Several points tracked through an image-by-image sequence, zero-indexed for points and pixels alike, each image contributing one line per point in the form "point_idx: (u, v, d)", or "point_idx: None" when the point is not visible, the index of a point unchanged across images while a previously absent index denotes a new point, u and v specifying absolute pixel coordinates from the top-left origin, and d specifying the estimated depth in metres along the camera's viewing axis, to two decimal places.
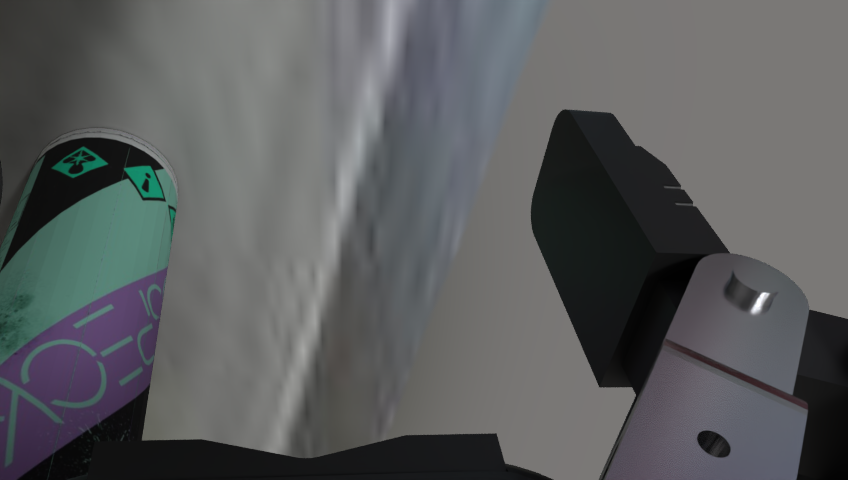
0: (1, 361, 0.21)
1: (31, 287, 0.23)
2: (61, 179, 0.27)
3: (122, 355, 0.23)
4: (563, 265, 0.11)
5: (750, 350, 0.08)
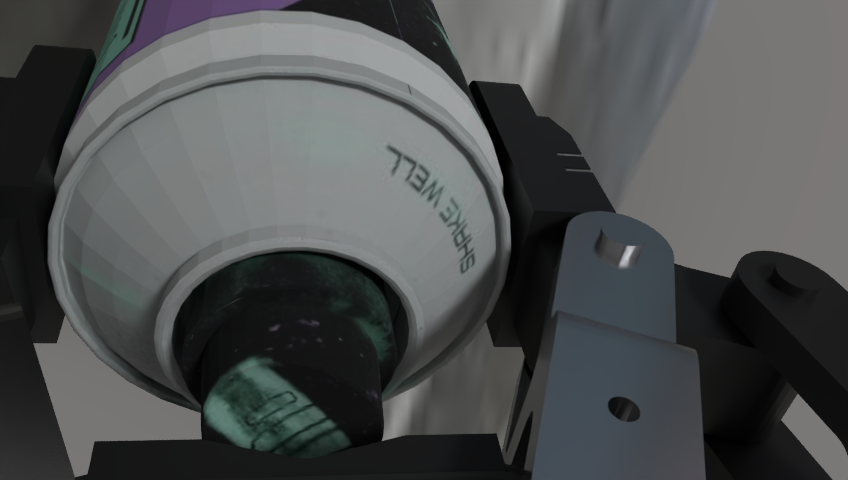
0: None
1: None
2: None
3: None
4: None
5: (632, 304, 0.08)
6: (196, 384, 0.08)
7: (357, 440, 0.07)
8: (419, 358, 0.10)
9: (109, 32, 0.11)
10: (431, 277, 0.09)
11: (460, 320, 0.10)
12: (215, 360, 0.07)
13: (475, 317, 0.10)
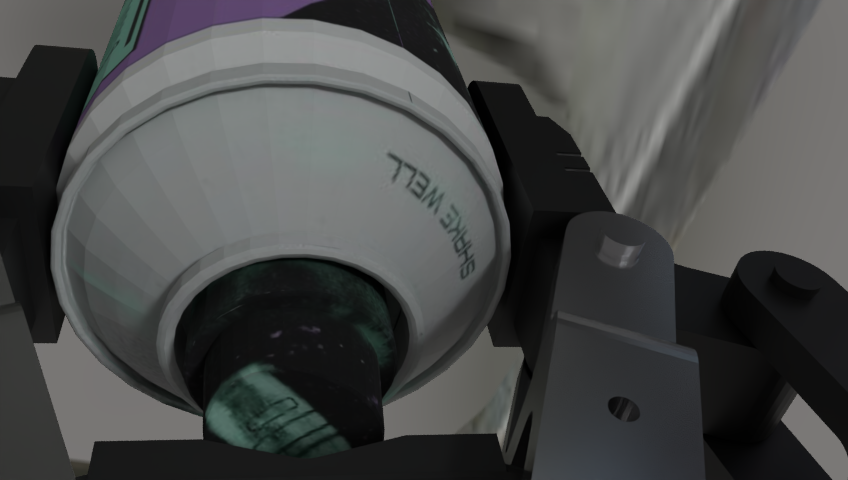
0: None
1: None
2: None
3: None
4: None
5: (631, 305, 0.08)
6: (198, 390, 0.08)
7: (357, 445, 0.08)
8: (419, 363, 0.10)
9: (111, 38, 0.11)
10: (432, 283, 0.09)
11: (460, 325, 0.10)
12: (217, 366, 0.07)
13: (475, 322, 0.10)
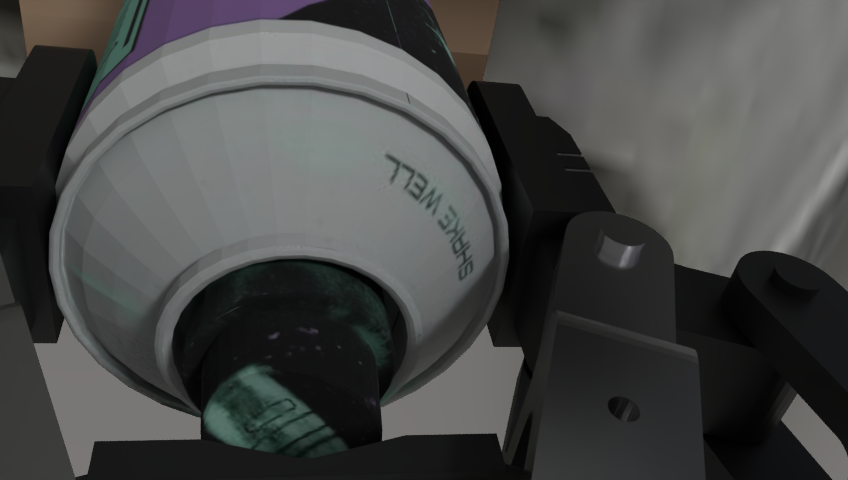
0: None
1: None
2: None
3: None
4: None
5: (631, 304, 0.08)
6: (196, 391, 0.08)
7: (355, 447, 0.08)
8: (418, 364, 0.10)
9: (110, 39, 0.11)
10: (430, 284, 0.09)
11: (459, 326, 0.10)
12: (215, 367, 0.07)
13: (474, 323, 0.10)
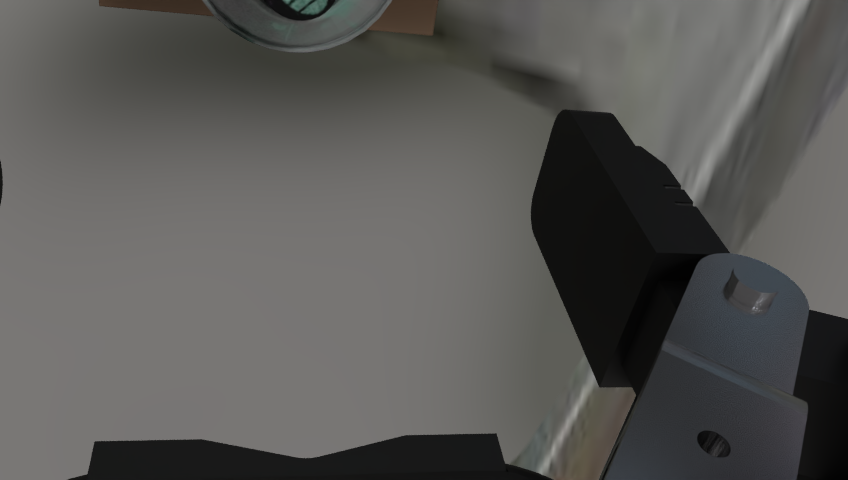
0: None
1: None
2: None
3: None
4: (563, 265, 0.11)
5: (750, 350, 0.08)
6: None
7: None
8: None
9: None
10: None
11: None
12: None
13: None
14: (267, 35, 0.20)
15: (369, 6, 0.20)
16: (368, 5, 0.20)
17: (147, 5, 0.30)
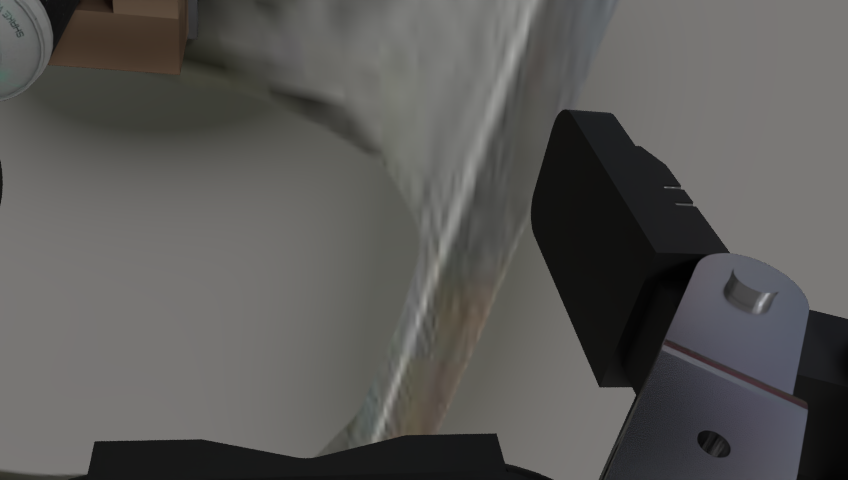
0: None
1: None
2: None
3: None
4: (563, 265, 0.11)
5: (750, 350, 0.08)
6: None
7: None
8: (13, 70, 0.30)
9: None
10: (2, 35, 0.29)
11: (28, 58, 0.30)
12: None
13: (40, 61, 0.30)
14: None
15: (23, 74, 0.30)
16: (21, 73, 0.30)
17: None
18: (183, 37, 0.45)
